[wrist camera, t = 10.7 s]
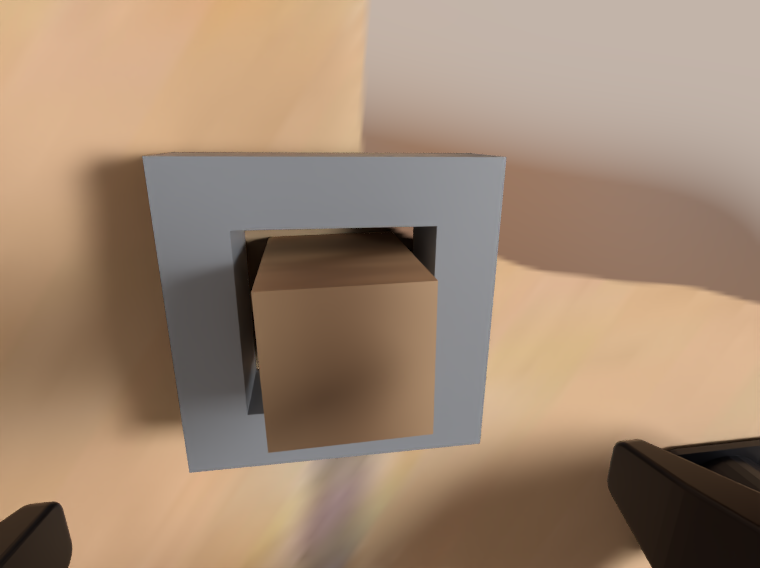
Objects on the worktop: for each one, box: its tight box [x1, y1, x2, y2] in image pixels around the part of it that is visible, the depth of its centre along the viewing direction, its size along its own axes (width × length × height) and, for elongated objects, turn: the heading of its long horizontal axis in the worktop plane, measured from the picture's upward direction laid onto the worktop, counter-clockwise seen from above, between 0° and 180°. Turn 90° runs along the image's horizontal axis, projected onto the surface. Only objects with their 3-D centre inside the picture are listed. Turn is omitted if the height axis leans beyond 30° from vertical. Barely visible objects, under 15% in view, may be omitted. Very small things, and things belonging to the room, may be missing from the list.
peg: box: [251, 232, 438, 453], centre depth 14 cm, size 4×4×6 cm
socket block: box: [142, 152, 506, 473], centre depth 15 cm, size 10×10×3 cm
